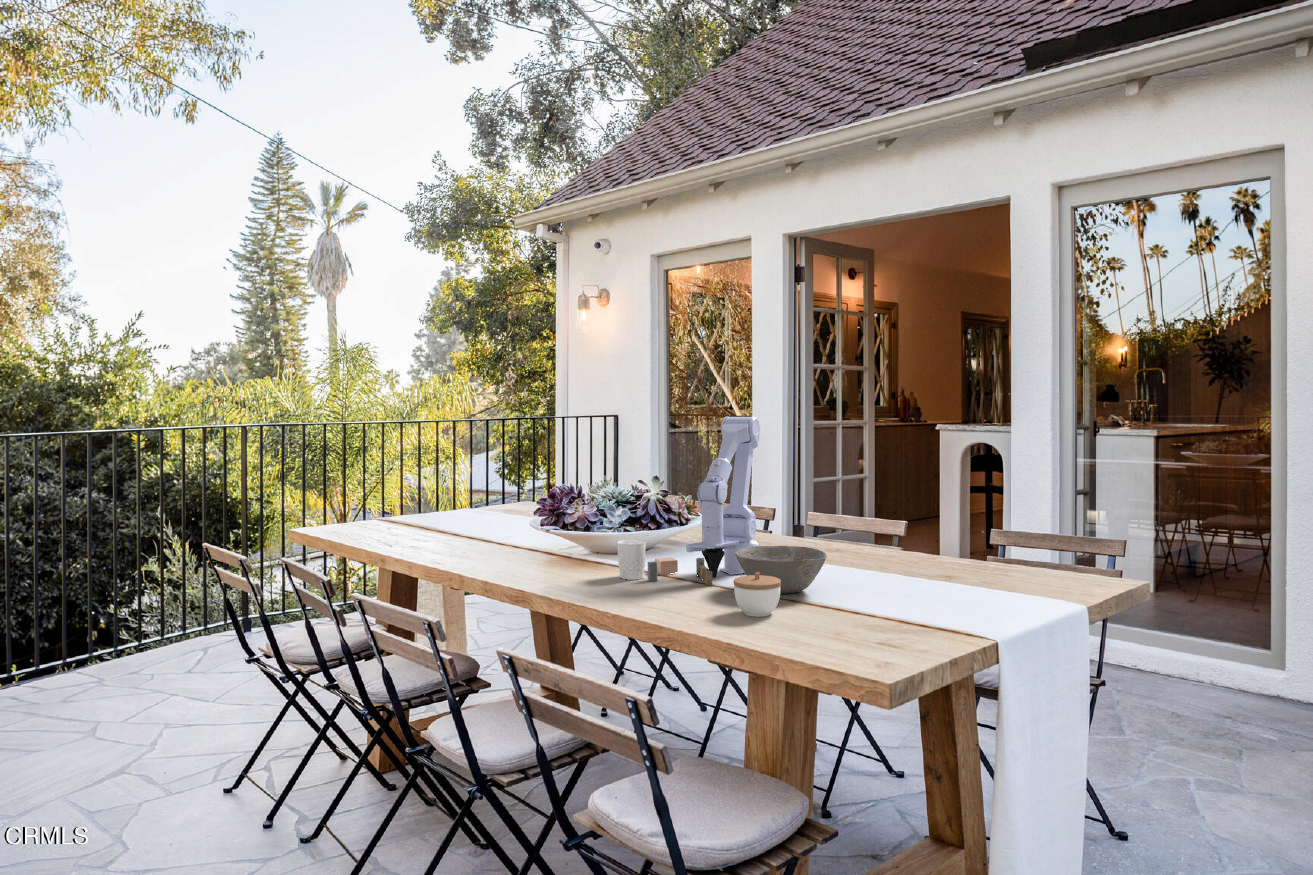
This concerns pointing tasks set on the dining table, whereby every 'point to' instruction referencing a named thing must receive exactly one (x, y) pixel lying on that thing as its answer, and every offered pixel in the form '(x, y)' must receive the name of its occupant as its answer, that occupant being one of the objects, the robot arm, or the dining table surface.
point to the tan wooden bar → (706, 575)
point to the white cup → (631, 559)
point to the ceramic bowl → (783, 564)
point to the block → (667, 565)
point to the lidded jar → (757, 594)
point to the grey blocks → (654, 572)
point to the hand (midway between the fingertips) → (713, 576)
